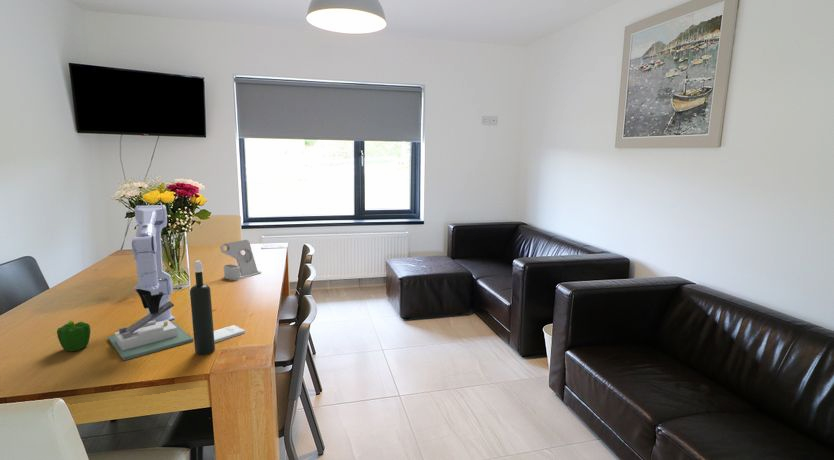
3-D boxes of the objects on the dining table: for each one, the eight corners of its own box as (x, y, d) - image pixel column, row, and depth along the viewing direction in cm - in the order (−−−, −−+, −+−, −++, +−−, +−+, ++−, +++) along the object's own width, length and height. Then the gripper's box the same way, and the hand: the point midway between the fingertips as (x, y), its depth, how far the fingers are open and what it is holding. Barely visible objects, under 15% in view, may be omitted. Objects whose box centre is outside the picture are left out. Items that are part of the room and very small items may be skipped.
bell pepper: (71, 343, 142) (67, 314, 140) (97, 342, 143) (93, 314, 141) (52, 354, 134) (47, 324, 132) (79, 354, 134) (75, 324, 133)
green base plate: (108, 339, 145) (106, 323, 144) (172, 323, 159) (171, 309, 159) (123, 360, 130) (121, 343, 129) (193, 341, 144) (191, 325, 143)
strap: (125, 337, 138) (124, 335, 137) (122, 333, 140) (121, 331, 140) (174, 305, 147) (173, 303, 147) (170, 302, 150) (169, 300, 149)
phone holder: (233, 280, 215) (231, 246, 212) (221, 277, 220) (219, 243, 217) (262, 273, 230) (260, 240, 227) (250, 270, 235) (248, 238, 232)
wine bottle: (191, 352, 136) (183, 261, 131) (208, 346, 141) (201, 258, 136) (201, 357, 133) (193, 264, 128) (218, 350, 138) (211, 260, 133)
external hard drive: (199, 339, 147) (233, 328, 157) (210, 345, 142) (245, 334, 152) (198, 334, 147) (233, 324, 156) (210, 341, 142) (245, 329, 151)
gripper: (127, 269, 144) (131, 308, 146) (139, 278, 134) (143, 319, 136) (151, 266, 149) (155, 303, 151) (164, 274, 139) (167, 313, 141)
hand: (151, 310), depth 144 cm, fingers open, 7 cm apart
